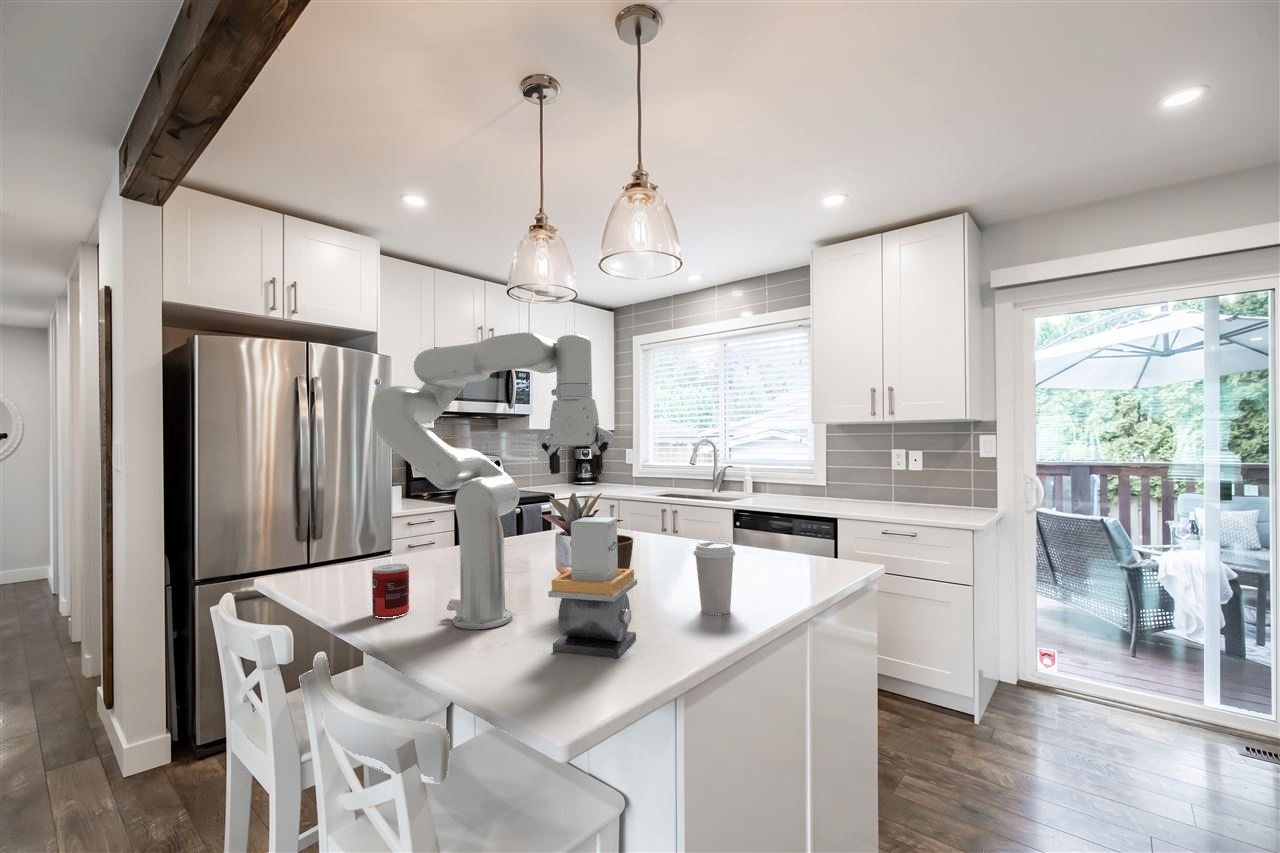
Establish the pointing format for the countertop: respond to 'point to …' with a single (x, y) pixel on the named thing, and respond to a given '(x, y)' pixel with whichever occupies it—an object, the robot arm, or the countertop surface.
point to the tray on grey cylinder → (594, 615)
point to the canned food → (390, 590)
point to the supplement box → (594, 549)
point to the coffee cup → (715, 576)
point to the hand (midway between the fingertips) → (575, 473)
